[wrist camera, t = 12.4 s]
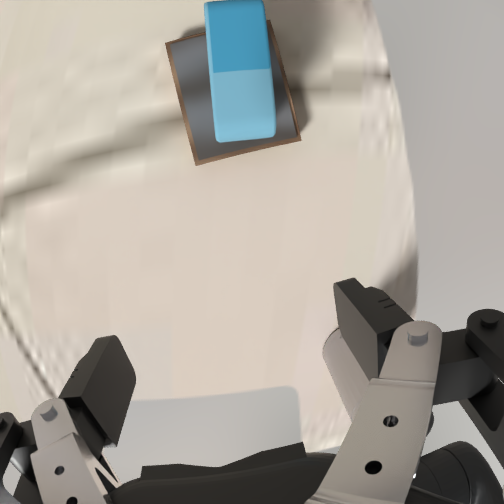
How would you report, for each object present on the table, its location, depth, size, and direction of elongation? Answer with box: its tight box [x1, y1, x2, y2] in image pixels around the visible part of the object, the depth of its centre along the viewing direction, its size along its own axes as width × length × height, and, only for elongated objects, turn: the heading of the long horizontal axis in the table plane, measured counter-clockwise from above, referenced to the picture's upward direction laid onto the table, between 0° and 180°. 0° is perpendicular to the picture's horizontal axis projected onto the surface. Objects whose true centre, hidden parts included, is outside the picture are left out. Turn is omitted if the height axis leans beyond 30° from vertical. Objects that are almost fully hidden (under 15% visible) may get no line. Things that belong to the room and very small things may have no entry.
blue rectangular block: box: [204, 0, 276, 143], centre depth 26 cm, size 12×4×12 cm, turn 5°
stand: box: [165, 20, 302, 166], centre depth 34 cm, size 15×12×4 cm
